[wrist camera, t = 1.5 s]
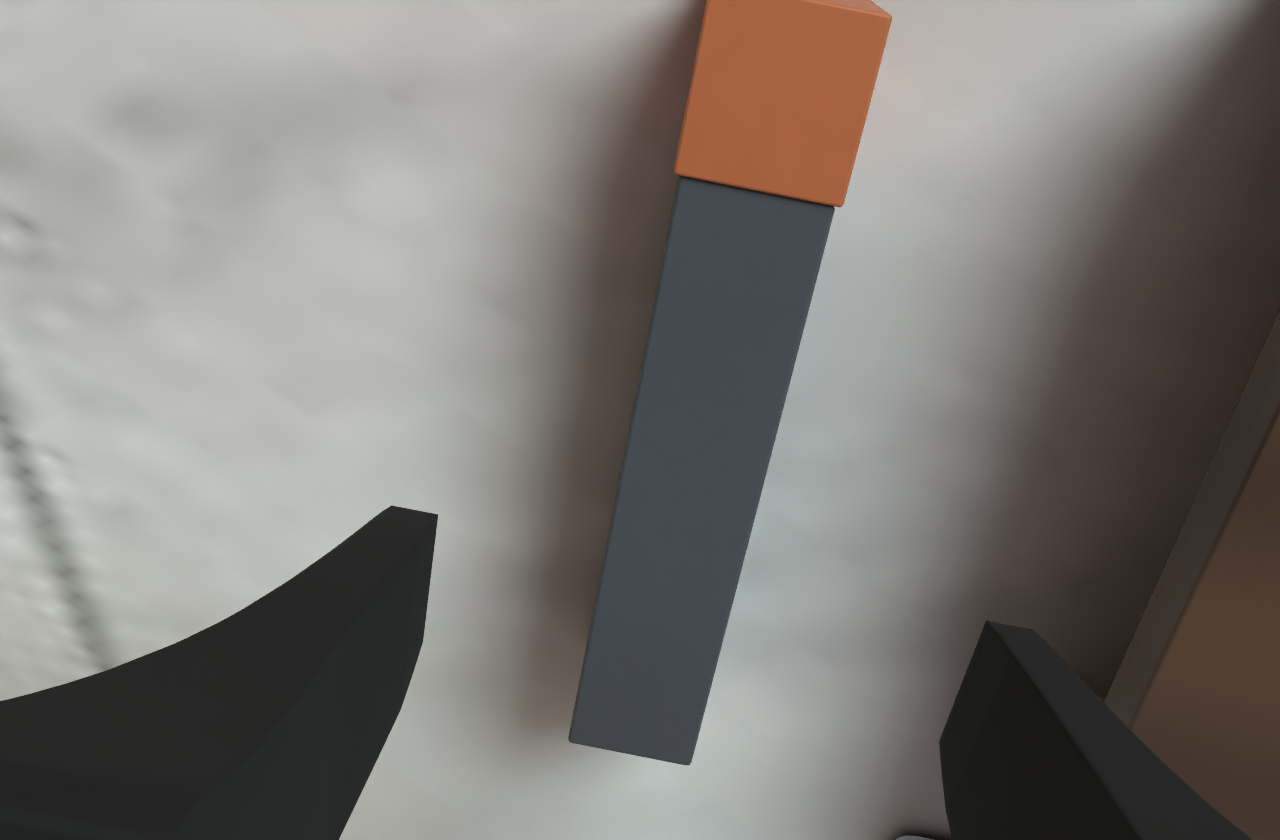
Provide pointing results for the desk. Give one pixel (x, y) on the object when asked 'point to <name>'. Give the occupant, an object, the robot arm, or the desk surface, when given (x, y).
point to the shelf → (1220, 625)
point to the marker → (721, 351)
